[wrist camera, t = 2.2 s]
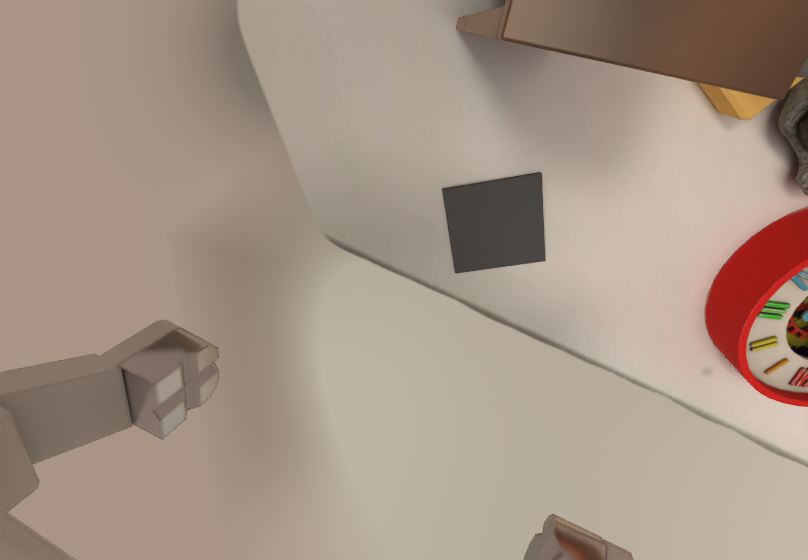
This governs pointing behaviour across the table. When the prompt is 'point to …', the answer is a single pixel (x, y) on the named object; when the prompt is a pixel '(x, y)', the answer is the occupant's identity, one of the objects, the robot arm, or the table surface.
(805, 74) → the rubber stamp
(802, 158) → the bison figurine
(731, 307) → the toy clock
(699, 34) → the cabinet
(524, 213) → the pad
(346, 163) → the table surface
